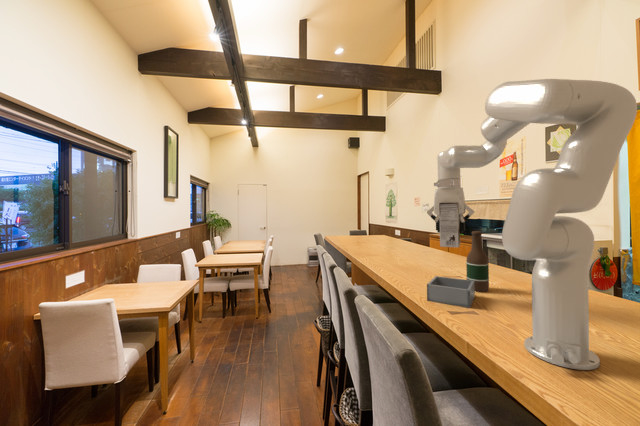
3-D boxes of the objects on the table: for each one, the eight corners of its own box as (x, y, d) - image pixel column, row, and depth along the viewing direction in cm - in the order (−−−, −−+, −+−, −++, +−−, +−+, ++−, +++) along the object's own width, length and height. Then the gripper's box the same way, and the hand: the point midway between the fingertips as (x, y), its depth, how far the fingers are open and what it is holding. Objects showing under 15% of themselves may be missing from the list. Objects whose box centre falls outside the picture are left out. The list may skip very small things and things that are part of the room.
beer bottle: (462, 288, 110) (461, 231, 109) (476, 285, 112) (475, 230, 112) (478, 293, 102) (477, 232, 102) (493, 291, 105) (492, 231, 104)
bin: (470, 308, 88) (469, 290, 88) (427, 300, 96) (426, 284, 96) (474, 296, 99) (474, 280, 99) (435, 290, 107) (435, 276, 107)
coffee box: (442, 243, 103) (441, 202, 103) (460, 244, 100) (459, 202, 99) (439, 246, 95) (438, 202, 95) (459, 247, 92) (458, 201, 92)
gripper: (422, 185, 99) (423, 232, 99) (475, 182, 89) (476, 234, 89) (427, 187, 105) (428, 231, 105) (477, 183, 95) (478, 232, 95)
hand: (450, 232), depth 97 cm, fingers closed on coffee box, 6 cm apart
